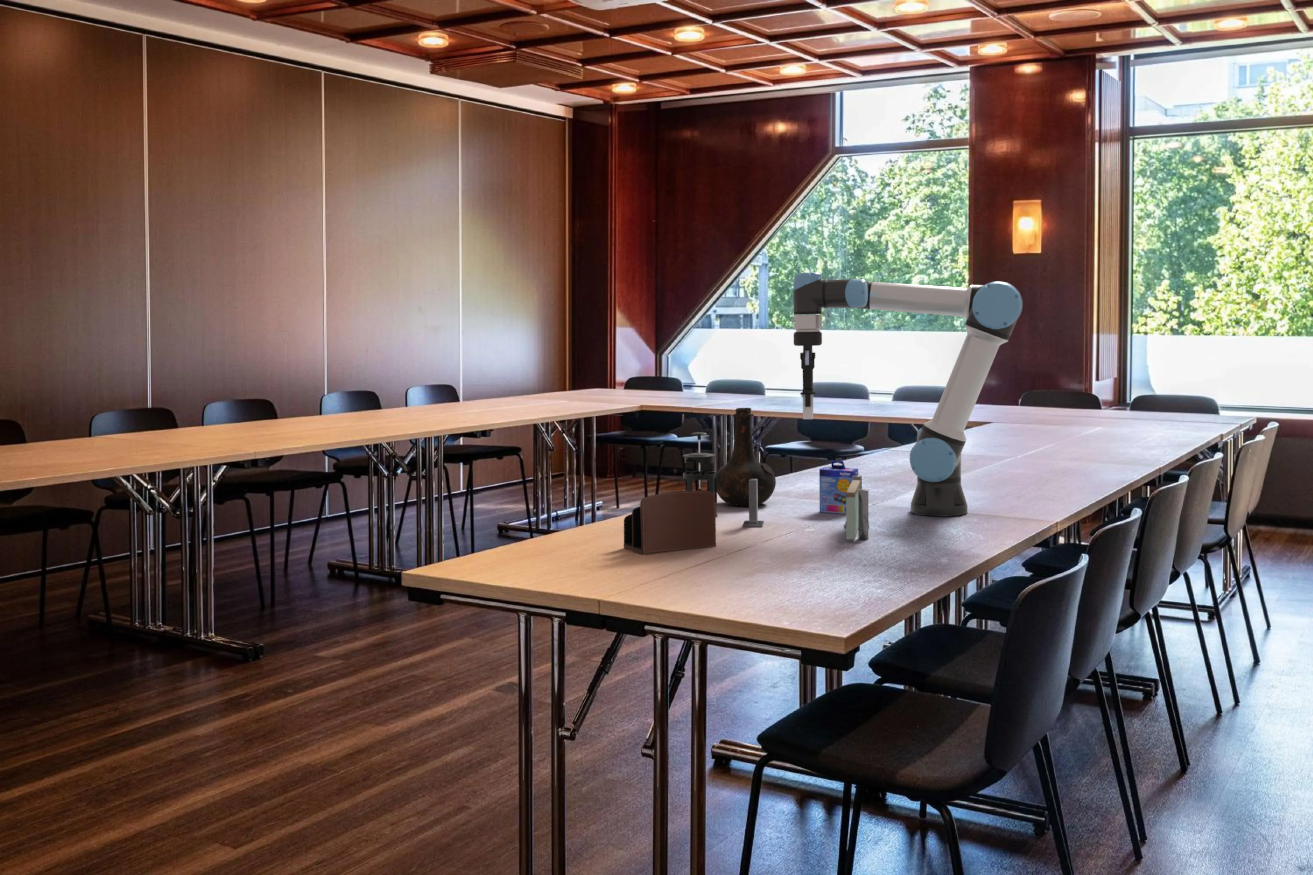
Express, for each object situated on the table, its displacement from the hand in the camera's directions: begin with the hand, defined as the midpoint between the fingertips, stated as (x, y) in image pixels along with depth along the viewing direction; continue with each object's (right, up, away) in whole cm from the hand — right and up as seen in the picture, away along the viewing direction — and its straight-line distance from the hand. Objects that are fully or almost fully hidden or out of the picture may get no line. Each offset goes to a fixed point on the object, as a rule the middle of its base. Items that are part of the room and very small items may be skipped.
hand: (808, 418), depth 333 cm
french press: (-28, -27, +5) cm, 39 cm away
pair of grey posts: (-3, -29, -21) cm, 36 cm away
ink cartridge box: (+9, -26, +8) cm, 29 cm away
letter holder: (-38, -31, -40) cm, 63 cm away
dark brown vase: (-15, -25, +25) cm, 38 cm away
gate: (+8, -28, -28) cm, 40 cm away
